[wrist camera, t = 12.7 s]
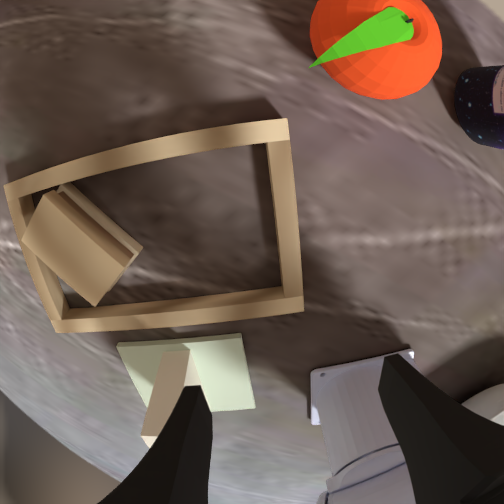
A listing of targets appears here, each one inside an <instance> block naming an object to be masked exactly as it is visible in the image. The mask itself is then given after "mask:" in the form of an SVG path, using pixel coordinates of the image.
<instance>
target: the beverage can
mask: <svg viewBox="0 0 504 504" xmlns="http://www.w3.org/2000/svg"><path fill="white" fill-rule="evenodd" d="M454 100H455V109H456V113H457V117H458V119H459V122H460V124H461V126H462V128H463V130H464V131H465V133H466V134H467V135H468V136H469V137H470V138H471V139H472V140H473V141H474V142H476V143H478V144H481V145H486V146H490V147H494V148H499V149H503V150H504V65H502V66H489V67H478V68H470V69H467V70H466V71H464V72H463V73H462V74H461V75H460V77H459V79H458V81H457V83H456V87H455V95H454Z"/></svg>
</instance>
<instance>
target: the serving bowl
mask: <svg viewBox="0 0 504 504" xmlns="http://www.w3.org/2000/svg"><path fill="white" fill-rule="evenodd" d="M461 405H463V406H464V407H466V408H468V409H469V410H471V411H473V412H475V413H476V414H478V415H480V416H482V417H485V418H487V419H489V420H491V421H493V422H495V423H498V424H500V425H503V426H504V384H500V385H496V386H493V387H491V388H488V389H486V390H484V391H482V392H480V393H478V394H476V395H475V396H473V397H471V398H470V399H468V400H466V401H465V402H463V403H462V404H461Z"/></svg>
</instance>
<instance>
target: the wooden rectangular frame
mask: <svg viewBox="0 0 504 504" xmlns="http://www.w3.org/2000/svg"><path fill="white" fill-rule="evenodd" d="M257 143H266V150H267V158H268V166H269V175H270V183H271V191H272V200H273V208H274V217H275V226H276V235H277V244H278V254H279V263H280V273H281V283H282V286H279V287H272V288H264V289H257V290H249V291H241V292H233V293H225V294H217V295H208V296H200V297H191V298H182V299H172V300H163V301H153V302H143V303H132V304H121V305H110V306H98V307H86V308H73V309H70V308H69V305H68V303H67V301H66V298H65V296H64V293H63V291H62V288H61V286H60V283H59V281H58V278H57V275H56V273H55V272H53V271H52V270H51V269H50V268H49V267H48V266H47V265H46V264H45V263H44V262H43V261H42V260H41V259H40V258H38V257H37V256H36V255H35V254H34V253H33V252H32V251H31V250H30V249H29V248H28V247H27V246H26V245H25V244H24V243H23V242H22V241H21V240H22V237H23V235H24V233H25V231H26V229H27V226H28V224H29V222H30V220H31V218H32V216H33V214H34V212H35V207H34V203H33V199H32V195H31V193H34V192H37V191H41V190H44V189H47V188H50V187H53V186H57V185H60V184H63V183H67V182H70V181H74V180H77V179H81V178H84V177H88V176H92V175H96V174H99V173H103V172H107V171H111V170H115V169H119V168H124V167H128V166H132V165H137V164H141V163H146V162H150V161H155V160H160V159H165V158H170V157H175V156H180V155H186V154H191V153H197V152H203V151H209V150H215V149H221V148H228V147H235V146H242V145H249V144H257ZM4 190H5V194H6V198H7V202H8V206H9V210H10V213H11V217H12V220H13V224H14V227H15V230H16V234H17V237H18V240H19V243H20V246H21V249H22V252H23V255H24V258H25V260H26V263H27V266H28V269H29V271H30V274H31V276H32V279H33V282H34V284H35V286H36V289H37V291H38V294H39V296H40V298H41V301H42V303H43V305H44V308H45V310H46V312H47V314H48V316H49V318H50V321H51V323H52V325H53V327H54V329H55V331H56V333H70V332H98V331H118V330H135V329H150V328H163V327H175V326H186V325H197V324H207V323H217V322H226V321H235V320H243V319H251V318H259V317H267V316H274V315H282V314H289V313H296V312H302V311H304V298H303V282H302V267H301V253H300V240H299V228H298V216H297V205H296V194H295V184H294V174H293V164H292V155H291V146H290V138H289V129H288V121H287V118H284V119H274V120H264V121H256V122H248V123H240V124H233V125H226V126H220V127H214V128H207V129H202V130H196V131H190V132H185V133H180V134H175V135H170V136H165V137H160V138H156V139H151V140H147V141H143V142H138V143H134V144H130V145H126V146H122V147H118V148H115V149H111V150H107V151H103V152H100V153H96V154H93V155H89V156H86V157H83V158H79V159H76V160H73V161H70V162H67V163H63V164H60V165H57V166H54V167H51V168H49V169H46V170H43V171H40V172H37V173H34V174H32V175H29V176H26V177H24V178H21V179H18V180H16V181H13V182H11V183H8V184H6V185H4Z"/></svg>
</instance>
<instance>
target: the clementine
mask: <svg viewBox="0 0 504 504" xmlns="http://www.w3.org/2000/svg"><path fill="white" fill-rule="evenodd" d="M310 39H311V43H312V48H313V51H314V53H315V55H316V57H317V60H316V61H315V62H314V63H313V64H312V65H311V66H310V67H312V66H315V65H318V64H321V66H322V67H323V68H324V69H325V70H326V72H327V73H328V74H329V75H330V76H331V78H333V79H334V80H335V81H337V82H338V83H339V84H341V85H342V86H343V87H344V88H346V89H348V90H350V91H353V92H355V93H357V94H359V95H363V96H367V97H372V98H376V99H398V98H400V97H403V96H406V95H409V94H412V93H415V92H417V91H418V90H420V89H421V88H422V87H424V86H425V85H426V84H428V82H429V81H430V79H431V78H432V76H433V75H434V73H435V72H436V70H437V69H438V67H439V64H440V60H441V57H442V40H441V35H440V31H439V27H438V24H437V22H436V20H435V18H434V16H433V14H432V13H431V11H430V10H429V9H428V7H427V6H426V5H425V3H424V2H422V1H421V0H319V1H318V2H317V4H316V6H315V9H314V11H313V14H312V17H311V21H310ZM310 67H309V68H310Z"/></svg>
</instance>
